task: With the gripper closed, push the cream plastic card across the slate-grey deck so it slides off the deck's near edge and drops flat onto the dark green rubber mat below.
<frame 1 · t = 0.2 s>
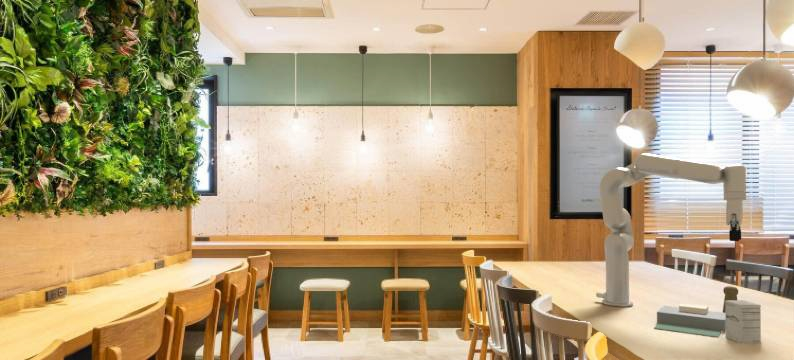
hand: (735, 240, 213), 30 cm above the table, tool pointing down, fingers open, 9 cm apart
cork: (731, 314, 220), on the table
supplement box: (742, 341, 180), on the table
mat: (687, 330, 193), on the table
deck: (692, 323, 203), on the table
card: (693, 311, 206), point 4 cm above the table, touching deck
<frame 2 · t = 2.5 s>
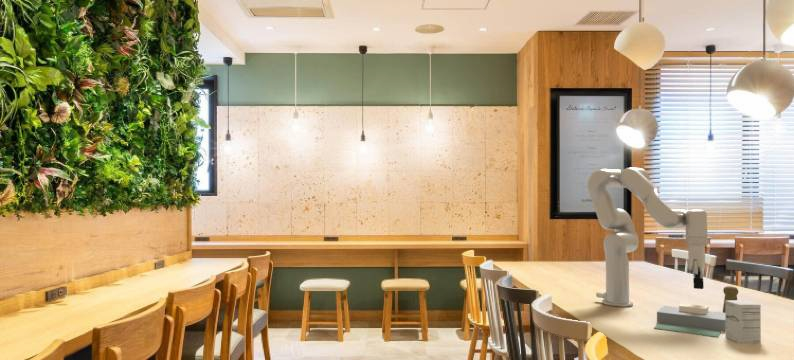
hand: (698, 288, 212), 12 cm above the table, tool pointing down, fingers closed
nothing on the table moved.
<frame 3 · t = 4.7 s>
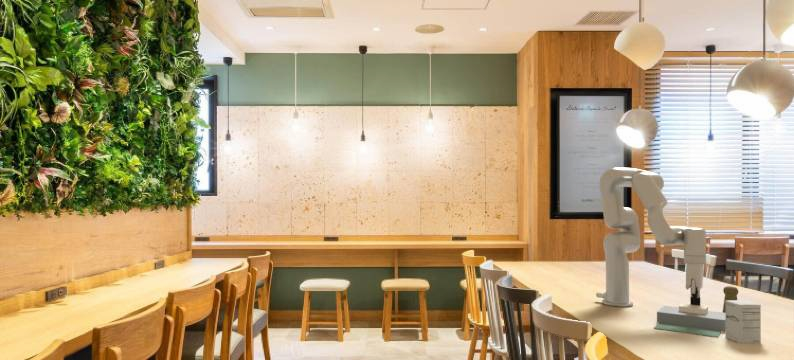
hand: (695, 307, 209), 5 cm above the table, tool pointing down, fingers closed
nothing on the table moved.
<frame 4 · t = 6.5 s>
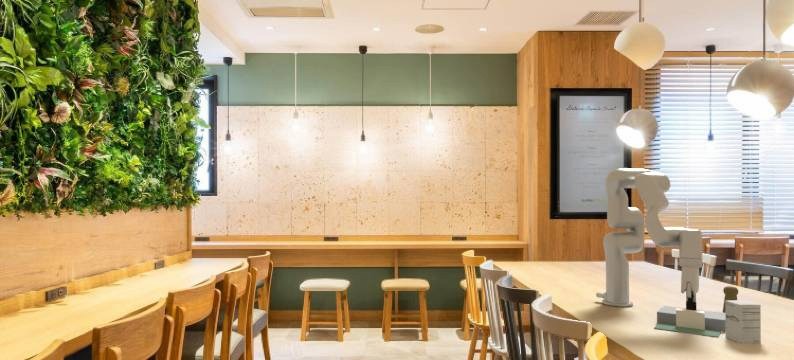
hand: (691, 312, 200), 5 cm above the table, tool pointing down, fingers closed
card: (690, 318, 196), point 4 cm above the table, tilted 97°, touching mat
everything else where it was.
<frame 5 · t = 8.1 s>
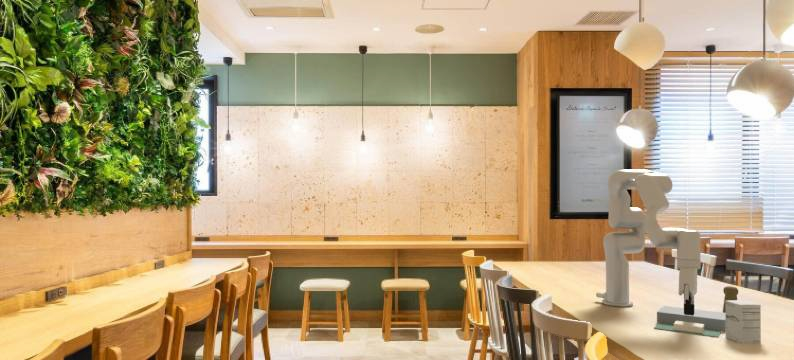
hand: (689, 314, 197), 5 cm above the table, tool pointing down, fingers closed
card: (688, 323, 193), point 2 cm above the table, tilted 180°, touching mat
everything else where it was.
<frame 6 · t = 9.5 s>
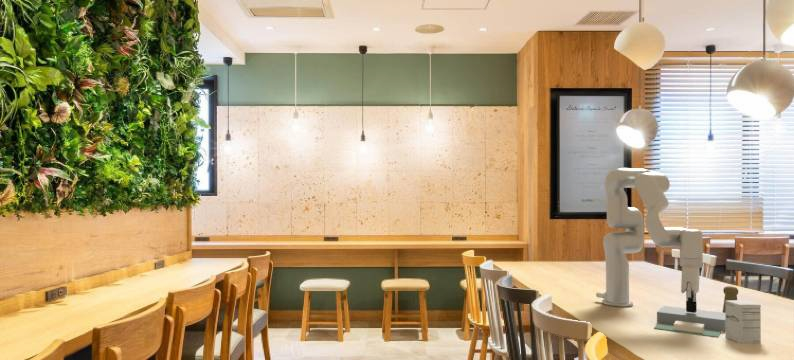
hand: (691, 311, 202), 5 cm above the table, tool pointing down, fingers closed
nothing on the table moved.
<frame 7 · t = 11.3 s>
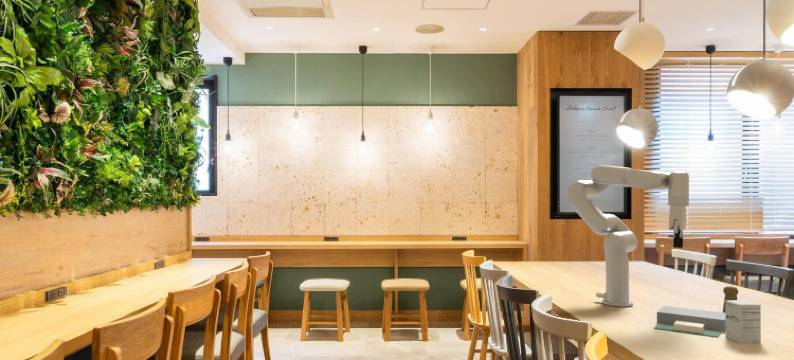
hand: (678, 247, 220), 27 cm above the table, tool pointing down, fingers closed
nothing on the table moved.
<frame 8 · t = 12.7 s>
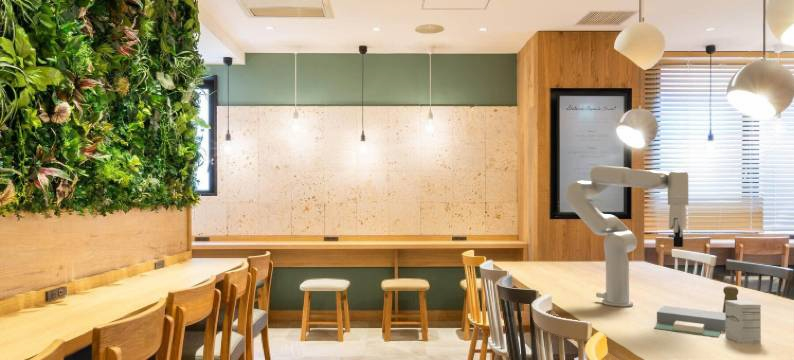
hand: (678, 246, 220), 27 cm above the table, tool pointing down, fingers closed
nothing on the table moved.
at the end: card point 2.3 cm above the table; card inside the target area on the mat (0.6 cm from its centre), point 2.3 cm above the mat's base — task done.
